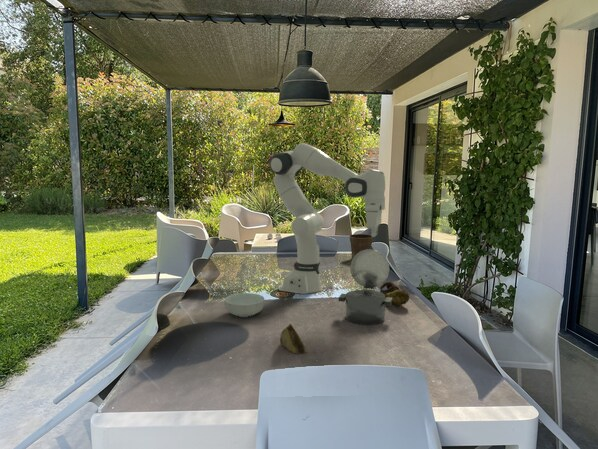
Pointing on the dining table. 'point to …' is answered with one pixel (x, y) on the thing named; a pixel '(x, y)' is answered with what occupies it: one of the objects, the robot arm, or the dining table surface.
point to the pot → (365, 306)
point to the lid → (369, 268)
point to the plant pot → (360, 243)
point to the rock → (292, 340)
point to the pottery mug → (389, 287)
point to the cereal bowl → (244, 304)
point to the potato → (398, 297)
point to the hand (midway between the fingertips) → (374, 235)
